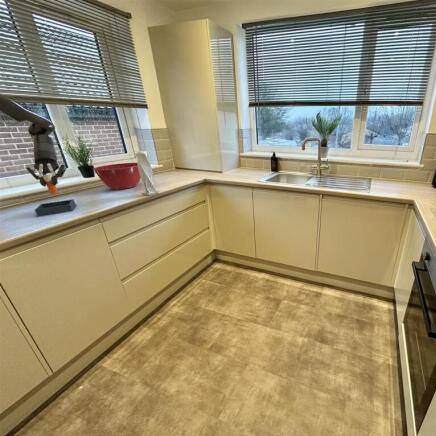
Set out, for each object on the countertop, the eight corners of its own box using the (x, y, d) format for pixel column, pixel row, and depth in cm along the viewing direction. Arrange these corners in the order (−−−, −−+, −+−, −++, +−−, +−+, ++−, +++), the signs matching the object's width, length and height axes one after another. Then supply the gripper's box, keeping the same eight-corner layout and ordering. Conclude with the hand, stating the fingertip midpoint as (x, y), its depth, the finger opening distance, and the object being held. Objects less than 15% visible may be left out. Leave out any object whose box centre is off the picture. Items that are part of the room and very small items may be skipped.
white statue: (141, 194, 152) (128, 149, 142) (153, 191, 159) (142, 147, 148) (147, 196, 148) (135, 149, 137) (160, 193, 154) (149, 148, 144)
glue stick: (48, 194, 110) (40, 176, 107) (53, 192, 113) (45, 174, 109) (55, 194, 110) (47, 175, 107) (60, 192, 113) (52, 174, 110)
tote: (38, 218, 117) (34, 209, 116) (44, 211, 126) (40, 203, 124) (72, 212, 124) (69, 204, 122) (76, 206, 132) (73, 199, 131)
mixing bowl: (90, 191, 162) (81, 168, 157) (127, 181, 188) (121, 161, 182) (121, 194, 154) (113, 170, 149) (156, 183, 180) (151, 162, 174)
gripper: (20, 150, 106) (23, 182, 102) (61, 148, 113) (66, 178, 108) (29, 161, 113) (32, 192, 108) (67, 158, 120) (72, 187, 115)
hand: (49, 184), depth 108 cm, fingers closed on glue stick, 3 cm apart
